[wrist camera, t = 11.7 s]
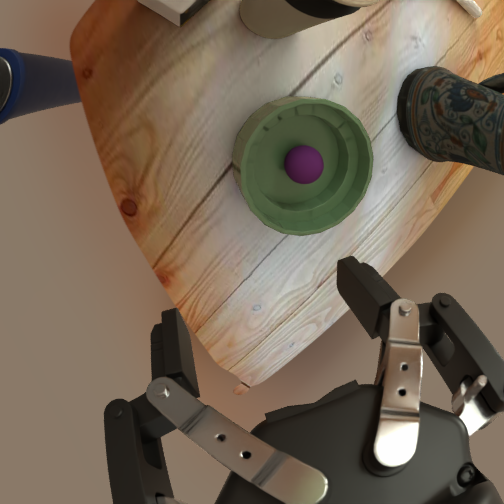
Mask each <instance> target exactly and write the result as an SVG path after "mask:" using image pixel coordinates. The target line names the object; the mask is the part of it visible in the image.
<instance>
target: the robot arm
mask: <svg viewBox="0 0 504 504" xmlns="http://www.w3.org/2000/svg"><path fill="white" fill-rule="evenodd" d="M12 87H13V70H12V67H11V65H10V63H9V61H8V60H7V59H5V58H3V57H0V112H1V111H2V110H3V109H4V107H5V105H6V104H7V102H8V100H9V97H10V94H11V91H12ZM337 288H338V291H339V293H340V295H341V296H342V298H343V299H344V300H345V302H346V303H347V305H348V306H349V307H350V309H351V310H352V311H353V313H354V314H355V316H356V317H357V319H358V320H359V321H360V323H361V324H362V326H363V327H364V329H365V330H366V331H367V333H368V334H369V336H370V337H371V338H372V339H374V338H376V337H378V336H380V338H381V339H382V341H381V346H380V354H379V361H378V368H377V373H376V378H375V381H374V385H373V384H361V385H358V383H357V381H356V380H354V381H352V382H349V383H347V384H345V385H342V386H340V387H338V388H335V389H334V390H332V391H331V392H329V393H328V394H327V395H325V396H324V397H322V398H321V399H320V400H318V401H317V402H315V403H311V404H304V405H294V406H287V407H284V408H281V409H278V410H275V411H272V412H268V413H265V416H266V420H264V421H262V422H261V423H259V424H258V425H257V426H256V427H255V428H254V429H253V430H252V431H251V432H250V433H249V432H248V431H246V430H244V429H243V428H241V427H240V426H238V425H237V424H235V423H234V422H232V421H231V420H230V419H228V418H226V417H225V416H224V415H222V414H221V413H219V412H218V411H217V410H215V409H214V408H212V407H211V406H209V405H204V404H203V403H202V402H200V401H199V400H198V399H196V398H198V397H200V394H199V388H198V382H197V377H196V371H195V364H194V358H193V352H192V346H191V339H190V335H189V332H188V329H187V327H186V325H185V323H184V321H183V319H182V316H181V314H180V312H179V310H178V308H173V309H170V310H166V311H163V312H162V323H160V324H156V325H154V328H153V330H152V332H151V370H152V382H151V383H150V384H149V385H148V387H147V390H146V392H145V393H144V394H143V395H141V396H139V397H138V398H136V399H134V400H132V401H130V402H127V401H126V400H124V399H115V400H113V401H111V402H110V403H109V404H108V405H107V406H106V408H105V411H104V427H105V443H106V454H107V464H108V472H109V479H110V487H111V492H112V499H113V504H187V503H185V502H184V501H181V500H177V499H174V495H173V491H172V488H171V483H170V480H169V475H168V471H167V466H166V462H165V457H164V452H163V447H162V443H161V436H163V435H165V434H167V433H169V432H171V431H173V430H175V429H177V428H178V429H179V430H180V431H181V432H182V433H184V434H185V435H186V436H187V437H188V438H189V439H191V440H192V441H193V442H194V443H196V444H197V445H198V446H199V447H201V448H202V449H203V450H204V451H206V452H207V453H208V454H209V455H211V456H212V457H213V458H215V459H216V460H217V461H219V462H220V463H221V464H223V465H224V466H225V467H227V468H228V469H230V470H231V472H230V474H229V476H228V478H227V480H226V482H225V484H224V486H223V488H222V490H221V492H220V494H219V496H218V498H217V500H216V502H215V504H504V503H503V502H502V499H501V498H500V496H499V493H498V492H497V490H496V488H495V486H494V485H493V483H492V482H491V481H490V480H489V479H488V478H487V477H485V476H484V475H483V474H482V473H481V472H480V471H479V470H478V469H477V468H476V467H475V466H474V464H473V462H472V459H471V455H470V448H469V436H470V435H472V434H473V433H474V432H476V431H477V430H480V429H483V428H485V427H486V426H488V425H489V424H490V423H491V422H492V421H494V420H495V419H496V418H497V417H499V416H500V415H501V414H502V413H503V412H504V361H503V359H502V358H501V356H500V355H499V354H498V352H497V351H496V349H495V348H494V347H493V345H492V344H491V343H490V341H489V340H488V339H487V337H486V336H485V335H484V334H483V332H482V331H481V330H480V329H479V327H478V326H477V325H476V324H475V323H474V321H473V320H472V319H471V318H470V316H469V315H468V314H467V313H466V312H465V310H464V309H463V308H462V307H461V306H460V305H459V303H458V302H457V301H456V300H455V299H454V298H453V297H452V296H451V295H449V294H446V293H438V294H436V295H435V296H434V297H433V299H432V302H430V303H423V304H416V303H415V302H413V301H412V300H410V299H406V298H400V296H399V295H398V294H397V293H396V292H395V291H394V290H393V289H392V287H391V286H390V285H389V284H388V283H387V282H386V281H385V280H383V278H382V276H381V275H379V273H378V272H377V271H376V270H375V269H374V268H373V267H372V266H370V265H368V264H366V263H364V262H363V263H359V262H358V260H357V259H356V258H355V257H354V256H349V257H346V258H343V259H340V260H338V262H337ZM445 333H446V334H445ZM448 337H449V338H448ZM450 340H451V341H452V342H451V341H450ZM453 344H454V345H453ZM423 349H424V350H425V352H426V353H427V355H428V356H429V358H430V359H431V361H432V362H433V364H434V366H435V367H436V369H437V370H438V372H439V373H440V375H441V376H442V378H443V379H444V381H445V383H446V384H447V386H448V387H449V389H450V391H451V392H452V394H453V396H452V401H451V402H452V411H453V412H454V413H451V412H448V411H445V410H442V409H440V408H437V407H434V406H431V405H429V404H426V403H423V402H420V394H421V382H422V362H423V360H422V359H423Z"/></svg>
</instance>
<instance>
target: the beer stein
mask: <svg viewBox="0 0 504 504" xmlns="http://www.w3.org/2000/svg"><path fill="white" fill-rule="evenodd" d="M502 93H504V73H502V74H498V75H494V76H492V77H490V78H487V79H485V80H483V81H482V82H480V83H479V84H477V83H474V82H472V81H469V80H466V79H464V78H462V77H459V76H457V75H455V74H453V73H452V72H451V71H449V70H447V69H445V68H442V67H437V66H433V67H427V68H422V69H416V70H415V71H413V72H412V73H411V74H409V75H408V76H407V78H406V79H405V81H404V82H403V85H402V87H401V90H400V93H399V96H398V105H397V115H398V120H399V125H400V130H401V132H402V134H403V136H404V137H405V139H406V141H407V143H408V145H409V146H411V147H412V148H413V149H415V150H416V151H418V152H419V153H420V154H422V155H423V156H424V157H426V158H427V159H429V160H431V161H435V162H445V161H452V162H459V163H464V164H468V165H472V166H476V167H479V168H483V169H486V170H489V171H492V172H495V173H498V174H501V175H504V95H503V94H502Z"/></svg>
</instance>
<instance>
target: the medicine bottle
mask: <svg viewBox="0 0 504 504" xmlns="http://www.w3.org/2000/svg"><path fill="white" fill-rule="evenodd" d="M209 1H210V0H138V2H139V3H141V4H143V5H145V6H146V7H148V8H150V9H151V10H153V11H155V12H156V13H158V14H160V15H161V16H163V17H164V18H166V19H168V20H169V21H171V22H172V23H174V24H175V25H177V26H178V27H182V26H183V25H184V24H185V23H186V22H187V21H188V20H190V19H191V18H192V17H193V16H194V15H195V14H196V13H197V12H198V11H199V10H200V9H201V8H202V7H203V6H205V5H206V4H207V3H208V2H209Z"/></svg>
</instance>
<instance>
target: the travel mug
mask: <svg viewBox="0 0 504 504" xmlns="http://www.w3.org/2000/svg"><path fill="white" fill-rule="evenodd" d="M379 1H380V0H242V1H241V3H240V16H241V19H242V21H243V22H244V24H245V25H246V26H247V27H248V28H249V29H250V30H251V31H252V32H254V33H255V34H257V35H259V36H262V37H265V38H271V39H279V38H284V37H287V36H289V35H292V34H294V33H297V32H299V31H302V30H305V29H307V28H310V27H313V26H315V25H318V24H321V23H324V22H327V21H330V20H333V19H336V18H339V17H342V16H346V15H349V14H352V13H354V12H356V11H357V10H359V9H360V8H361V7H367V6H371V5H373V4H376V3H377V2H379Z"/></svg>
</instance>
